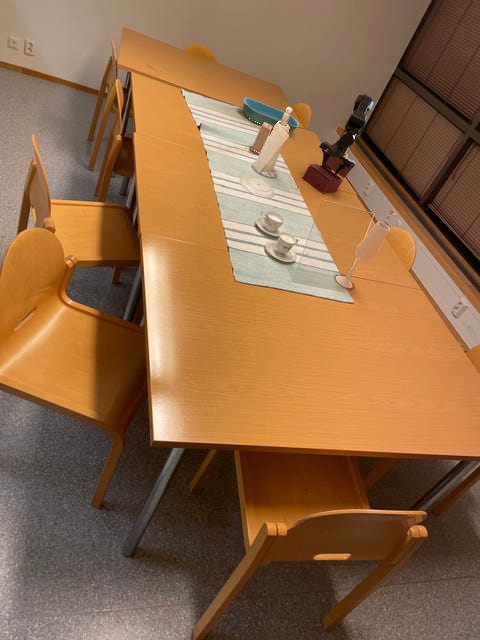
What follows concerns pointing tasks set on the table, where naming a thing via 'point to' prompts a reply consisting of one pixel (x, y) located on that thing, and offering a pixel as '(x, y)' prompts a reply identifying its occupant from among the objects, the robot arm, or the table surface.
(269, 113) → the casserole dish
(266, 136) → the supplement box
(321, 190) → the dark red open box
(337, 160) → the flap
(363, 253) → the champagne flute
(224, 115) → the table surface
